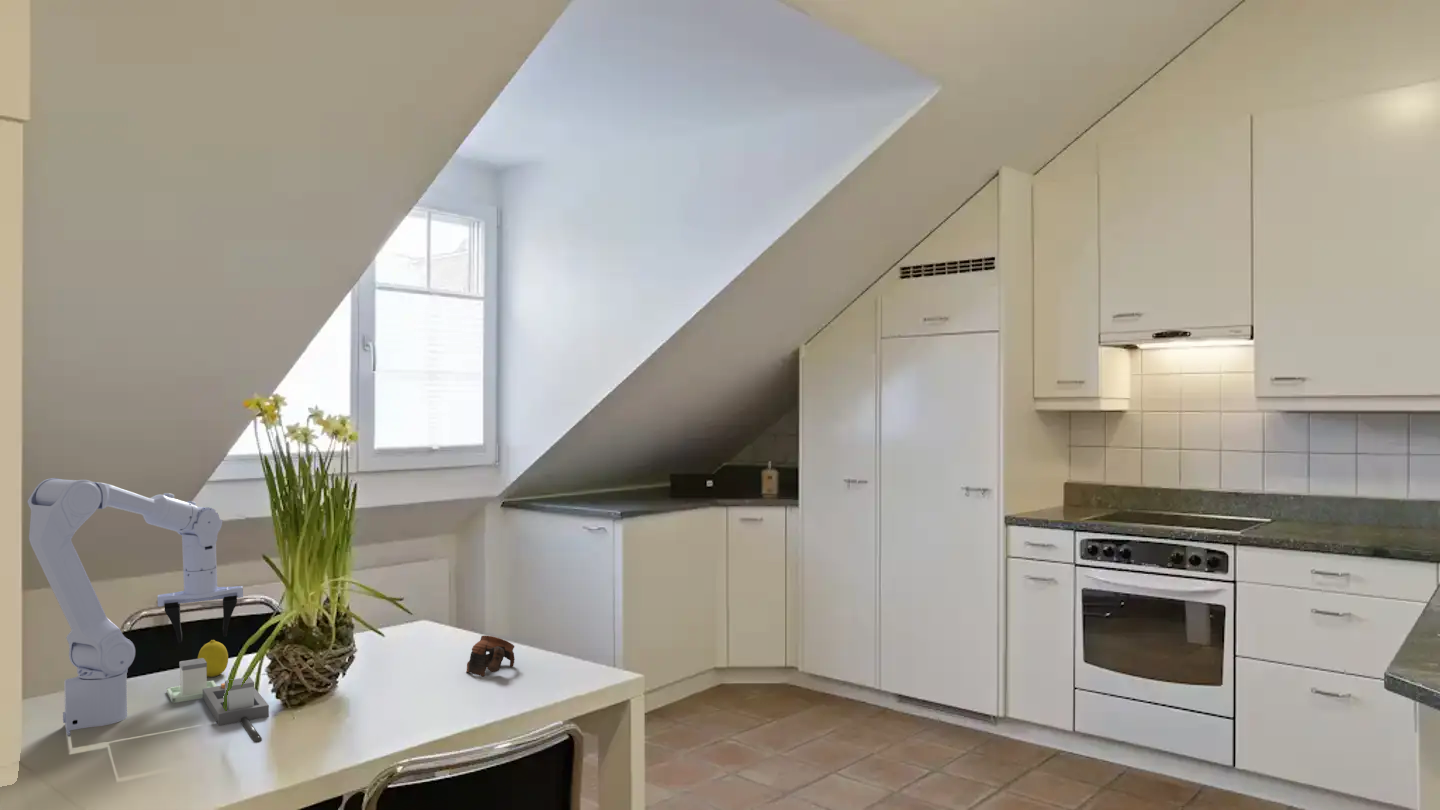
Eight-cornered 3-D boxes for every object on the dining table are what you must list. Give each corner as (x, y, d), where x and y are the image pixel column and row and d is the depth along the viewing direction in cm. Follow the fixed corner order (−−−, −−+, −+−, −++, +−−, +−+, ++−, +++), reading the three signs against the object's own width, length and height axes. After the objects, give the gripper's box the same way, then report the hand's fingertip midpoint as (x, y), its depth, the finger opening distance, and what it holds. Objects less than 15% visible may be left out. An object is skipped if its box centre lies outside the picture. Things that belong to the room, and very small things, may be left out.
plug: (182, 698, 183) (182, 666, 183) (179, 692, 186) (179, 661, 186) (207, 694, 185) (206, 662, 185) (203, 688, 189) (203, 657, 188)
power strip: (231, 750, 158) (231, 731, 158) (202, 701, 183) (202, 685, 183) (284, 739, 163) (284, 720, 163) (249, 693, 188) (248, 677, 188)
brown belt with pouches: (457, 672, 203) (471, 633, 207) (497, 686, 207) (511, 648, 211) (475, 670, 194) (489, 630, 197) (517, 685, 197) (531, 646, 201)
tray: (172, 707, 180) (172, 698, 180) (166, 696, 187) (166, 687, 187) (220, 698, 185) (220, 690, 185) (213, 688, 191) (213, 680, 191)
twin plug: (229, 720, 171) (228, 686, 171) (225, 714, 175) (224, 680, 174) (254, 715, 174) (254, 682, 174) (250, 709, 177) (249, 676, 177)
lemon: (219, 683, 195) (218, 643, 195) (192, 683, 195) (191, 643, 195) (233, 675, 200) (233, 636, 200) (207, 675, 200) (206, 636, 200)
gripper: (241, 561, 195) (243, 628, 195) (157, 569, 188) (160, 638, 189) (242, 567, 188) (244, 636, 189) (155, 575, 182) (158, 647, 182)
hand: (202, 638), depth 188 cm, fingers open, 7 cm apart
